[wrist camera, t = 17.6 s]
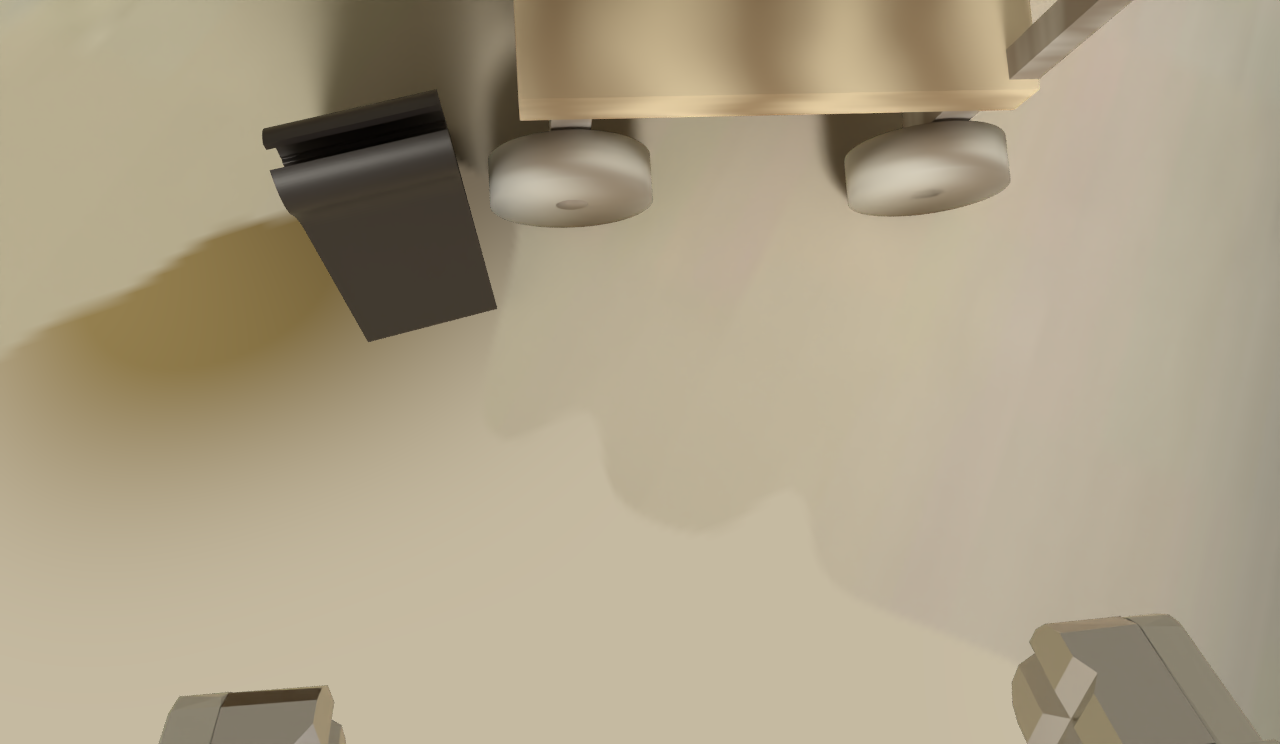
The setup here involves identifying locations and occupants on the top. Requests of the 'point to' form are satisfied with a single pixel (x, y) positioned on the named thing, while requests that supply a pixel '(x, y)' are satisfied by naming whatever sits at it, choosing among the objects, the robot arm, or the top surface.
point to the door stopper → (385, 212)
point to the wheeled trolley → (775, 91)
